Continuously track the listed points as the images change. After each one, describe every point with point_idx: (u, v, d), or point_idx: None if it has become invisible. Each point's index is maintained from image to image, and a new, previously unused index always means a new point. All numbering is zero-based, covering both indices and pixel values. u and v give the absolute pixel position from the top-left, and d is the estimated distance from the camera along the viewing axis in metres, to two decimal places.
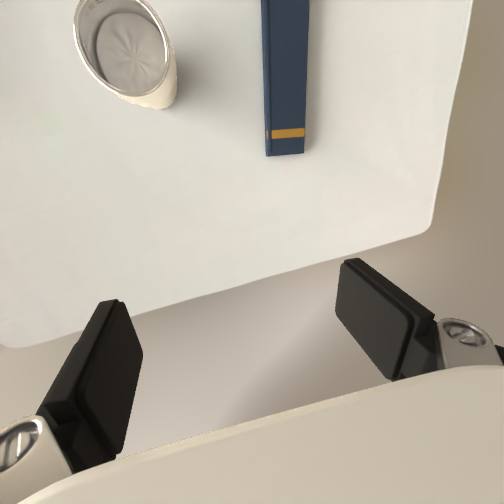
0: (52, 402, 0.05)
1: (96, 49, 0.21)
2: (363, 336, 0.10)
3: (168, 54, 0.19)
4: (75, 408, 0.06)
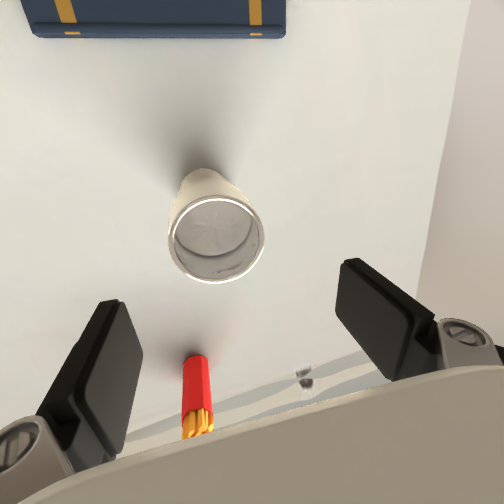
0: (52, 402, 0.05)
1: (208, 256, 0.21)
2: (363, 336, 0.10)
3: (221, 197, 0.15)
4: (75, 408, 0.06)
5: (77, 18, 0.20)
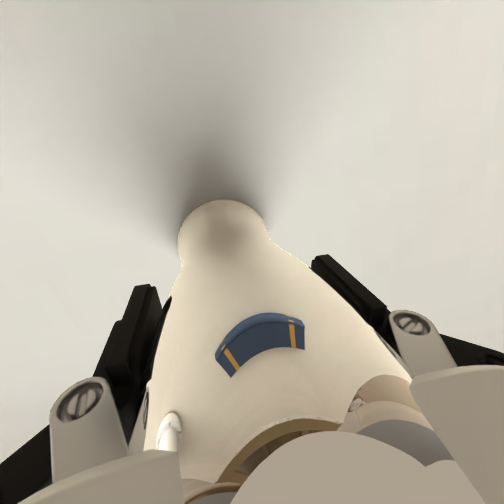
0: (111, 365, 0.06)
1: None
2: None
3: None
4: (129, 372, 0.06)
5: None
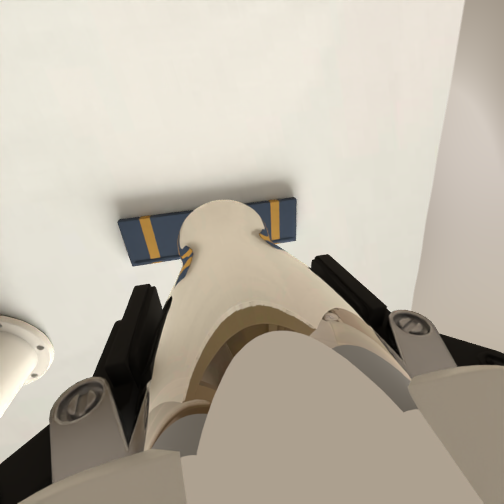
0: (111, 365, 0.06)
1: None
2: None
3: None
4: (129, 372, 0.06)
5: (160, 255, 0.31)
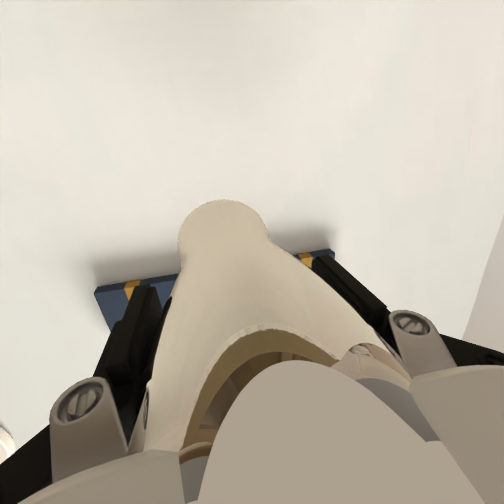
0: (111, 365, 0.06)
1: None
2: None
3: None
4: (129, 372, 0.06)
5: None
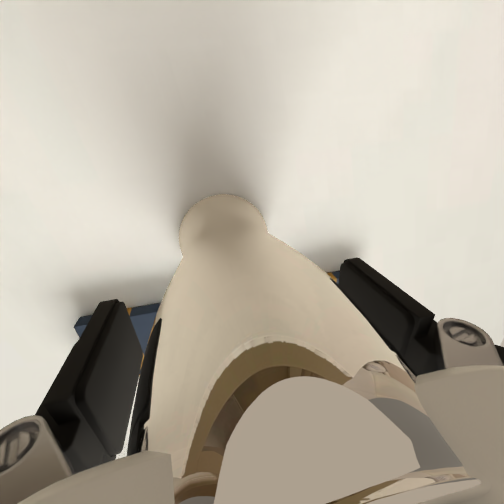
0: (52, 402, 0.05)
1: None
2: None
3: None
4: (75, 408, 0.06)
5: None
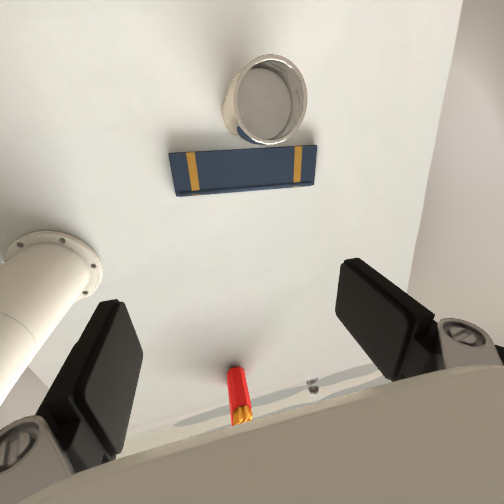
0: (52, 402, 0.05)
1: None
2: (363, 336, 0.10)
3: (278, 56, 0.19)
4: (75, 408, 0.06)
5: (200, 188, 0.36)
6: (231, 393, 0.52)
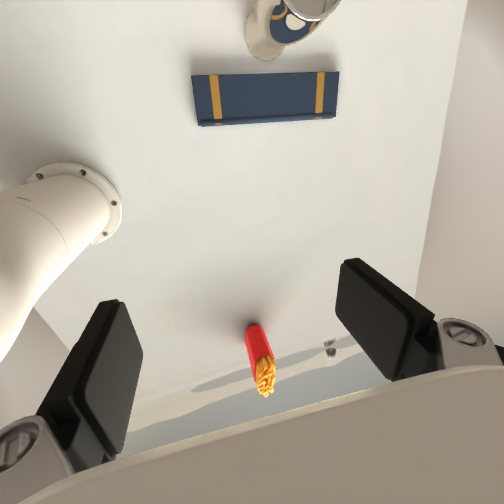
0: (52, 402, 0.05)
1: (287, 34, 0.25)
2: (363, 336, 0.10)
3: None
4: (75, 408, 0.06)
5: (222, 116, 0.35)
6: (252, 347, 0.51)
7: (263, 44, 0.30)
